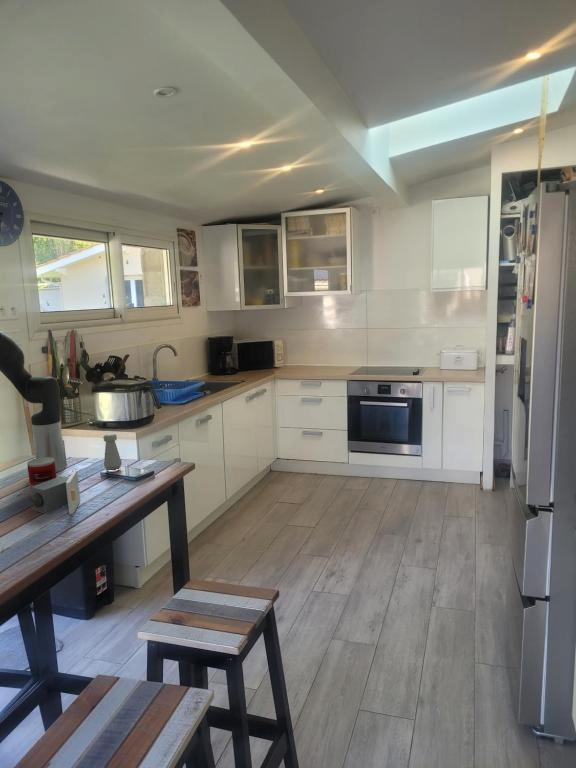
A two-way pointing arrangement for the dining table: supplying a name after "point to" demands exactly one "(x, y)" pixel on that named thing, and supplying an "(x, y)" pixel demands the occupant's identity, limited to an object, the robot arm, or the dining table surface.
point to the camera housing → (50, 495)
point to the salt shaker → (111, 452)
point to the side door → (73, 492)
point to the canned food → (41, 470)
